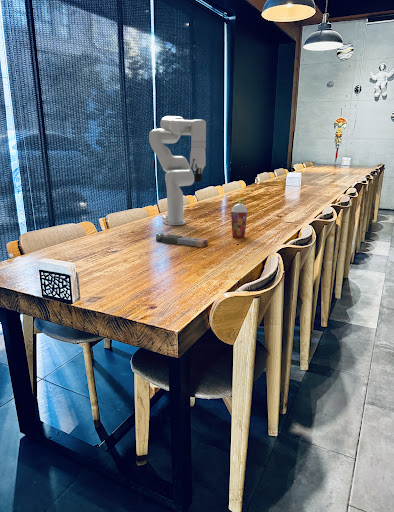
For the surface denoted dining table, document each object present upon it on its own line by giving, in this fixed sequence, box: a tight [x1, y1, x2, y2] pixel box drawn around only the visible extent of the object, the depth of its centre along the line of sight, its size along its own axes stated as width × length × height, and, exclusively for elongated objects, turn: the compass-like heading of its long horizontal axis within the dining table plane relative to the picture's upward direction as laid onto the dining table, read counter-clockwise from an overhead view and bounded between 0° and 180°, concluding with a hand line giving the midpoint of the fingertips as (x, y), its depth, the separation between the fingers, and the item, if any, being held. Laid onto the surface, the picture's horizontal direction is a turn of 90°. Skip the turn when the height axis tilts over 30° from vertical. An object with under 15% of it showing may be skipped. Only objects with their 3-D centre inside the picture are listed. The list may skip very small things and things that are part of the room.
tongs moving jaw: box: [155, 233, 209, 247], centre depth 182 cm, size 26×5×3 cm, turn 64°
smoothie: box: [230, 197, 248, 239], centre depth 192 cm, size 8×8×20 cm
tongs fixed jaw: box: [161, 236, 205, 248], centre depth 179 cm, size 22×3×3 cm, turn 64°
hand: (198, 181), depth 199 cm, fingers closed
